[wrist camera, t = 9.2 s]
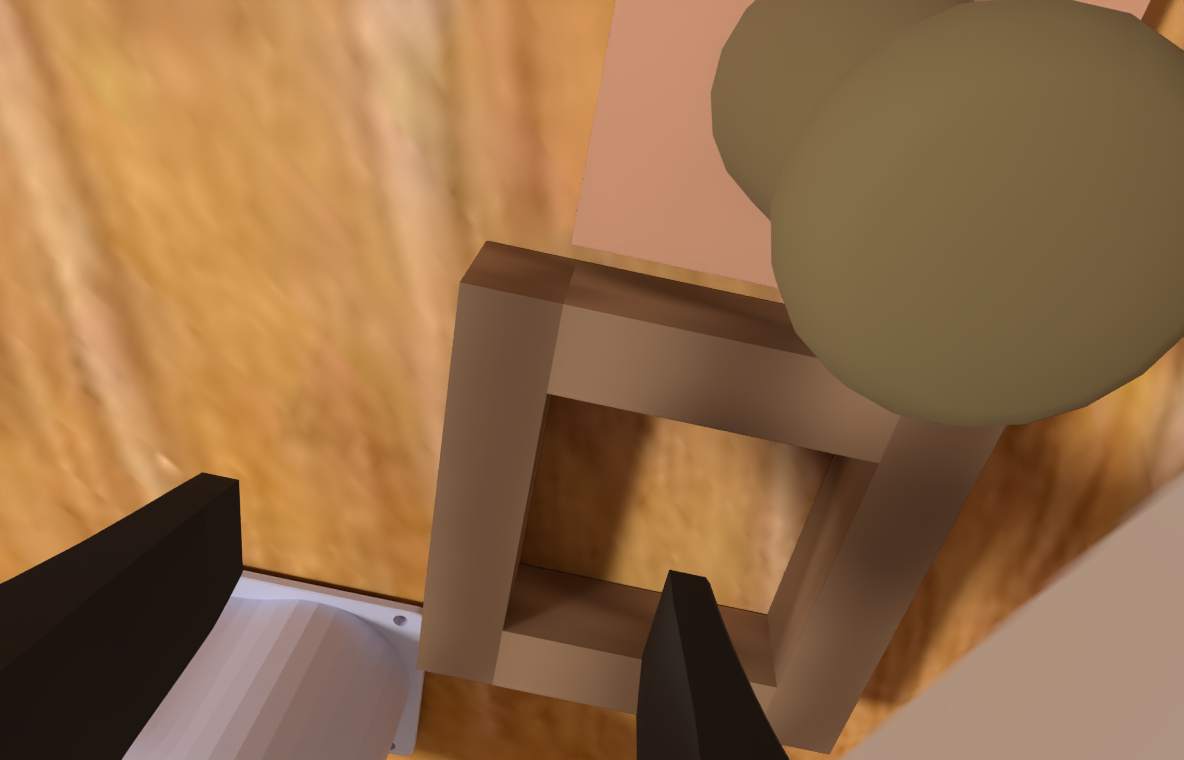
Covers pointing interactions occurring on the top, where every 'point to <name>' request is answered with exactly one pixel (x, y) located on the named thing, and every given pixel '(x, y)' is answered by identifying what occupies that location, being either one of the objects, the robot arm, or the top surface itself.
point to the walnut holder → (692, 395)
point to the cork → (964, 195)
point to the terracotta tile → (676, 145)
